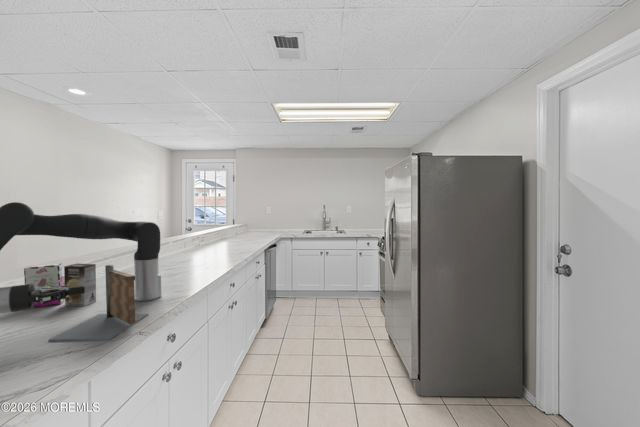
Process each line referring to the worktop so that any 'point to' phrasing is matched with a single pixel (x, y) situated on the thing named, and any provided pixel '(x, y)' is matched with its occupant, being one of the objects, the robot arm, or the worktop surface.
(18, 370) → the worktop surface
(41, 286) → the candy bar box
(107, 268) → the hinge post
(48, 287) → the robot arm
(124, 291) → the gate
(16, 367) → the worktop surface
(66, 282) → the coffee box
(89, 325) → the mat
